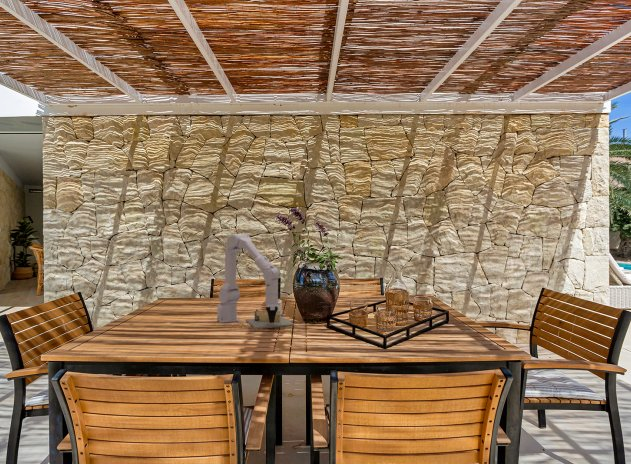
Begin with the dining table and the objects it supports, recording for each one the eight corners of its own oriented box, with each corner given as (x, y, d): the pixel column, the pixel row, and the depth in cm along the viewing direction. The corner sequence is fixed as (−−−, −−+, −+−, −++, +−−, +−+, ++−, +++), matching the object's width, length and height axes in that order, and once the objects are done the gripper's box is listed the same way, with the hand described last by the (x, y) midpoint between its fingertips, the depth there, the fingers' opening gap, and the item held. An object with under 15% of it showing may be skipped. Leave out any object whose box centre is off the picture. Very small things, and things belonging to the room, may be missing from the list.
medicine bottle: (282, 313, 249) (282, 291, 249) (279, 316, 242) (280, 293, 242) (269, 313, 250) (269, 291, 250) (266, 316, 243) (266, 293, 243)
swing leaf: (279, 321, 224) (279, 313, 224) (253, 320, 227) (253, 311, 227) (281, 320, 227) (281, 312, 226) (255, 319, 230) (255, 310, 230)
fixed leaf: (255, 321, 227) (255, 310, 227) (253, 320, 229) (253, 309, 229) (281, 319, 232) (281, 308, 232) (279, 318, 234) (279, 307, 234)
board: (255, 329, 214) (255, 327, 214) (245, 320, 231) (245, 319, 231) (294, 325, 221) (294, 324, 221) (282, 317, 238) (282, 316, 238)
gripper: (281, 296, 211) (281, 325, 211) (279, 291, 225) (279, 319, 225) (265, 296, 210) (265, 326, 210) (264, 291, 224) (264, 319, 224)
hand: (271, 322), depth 218 cm, fingers closed
